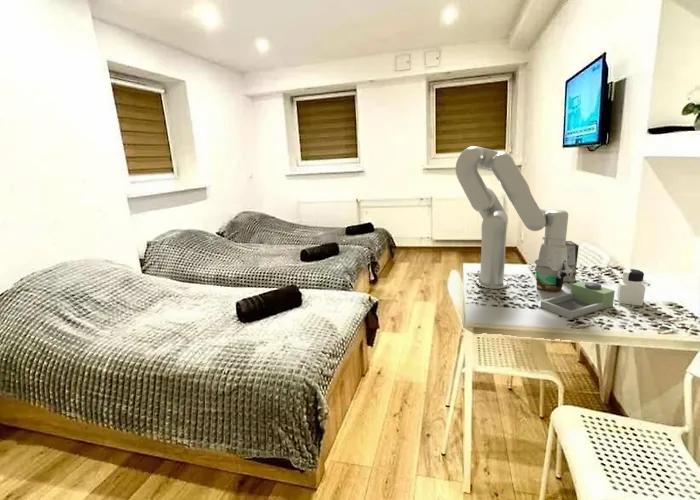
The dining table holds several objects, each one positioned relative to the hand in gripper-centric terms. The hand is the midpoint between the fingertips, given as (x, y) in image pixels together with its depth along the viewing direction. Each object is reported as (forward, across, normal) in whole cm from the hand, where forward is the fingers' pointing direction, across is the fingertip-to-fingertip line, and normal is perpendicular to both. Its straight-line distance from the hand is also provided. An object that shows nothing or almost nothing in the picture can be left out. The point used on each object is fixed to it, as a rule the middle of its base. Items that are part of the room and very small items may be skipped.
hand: (550, 283), depth 153 cm
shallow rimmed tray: (+3, +16, -6) cm, 18 cm away
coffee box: (+3, -7, +17) cm, 19 cm away
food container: (+3, +1, 0) cm, 3 cm away
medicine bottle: (+3, +22, +14) cm, 26 cm away
